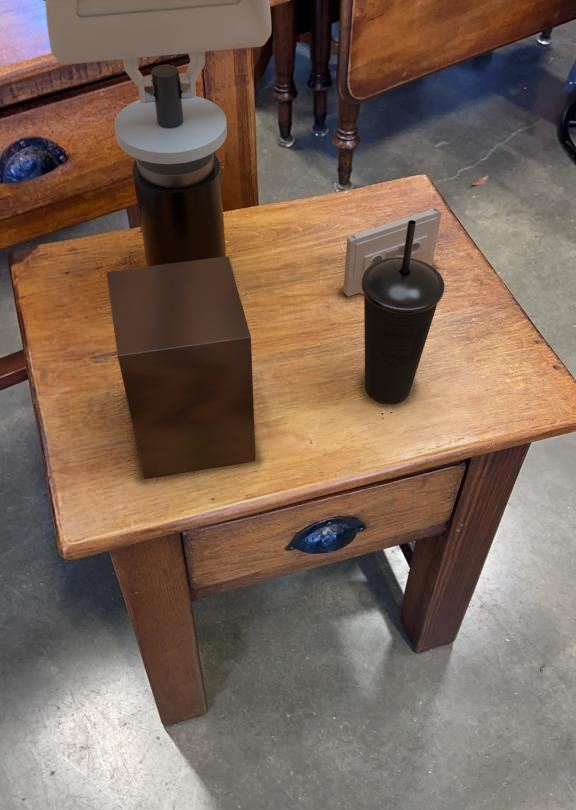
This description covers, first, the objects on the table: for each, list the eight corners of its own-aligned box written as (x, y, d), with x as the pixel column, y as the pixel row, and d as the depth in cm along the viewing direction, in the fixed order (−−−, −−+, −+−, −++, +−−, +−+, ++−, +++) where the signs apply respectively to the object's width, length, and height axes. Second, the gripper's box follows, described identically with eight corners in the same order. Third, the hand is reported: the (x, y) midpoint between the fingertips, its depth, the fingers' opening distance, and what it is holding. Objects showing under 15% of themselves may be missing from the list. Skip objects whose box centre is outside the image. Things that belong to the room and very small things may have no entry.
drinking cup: (424, 365, 89) (455, 199, 73) (423, 417, 85) (457, 252, 69) (353, 359, 90) (369, 193, 74) (349, 411, 85) (365, 246, 69)
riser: (144, 478, 80) (117, 356, 67) (132, 397, 86) (106, 271, 73) (255, 460, 81) (251, 337, 68) (236, 382, 88) (228, 255, 75)
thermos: (154, 306, 95) (134, 183, 82) (145, 257, 100) (125, 134, 88) (233, 295, 96) (226, 172, 83) (220, 247, 101) (211, 125, 89)
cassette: (348, 300, 96) (353, 243, 89) (340, 290, 97) (344, 234, 90) (434, 269, 99) (445, 213, 93) (426, 260, 100) (435, 204, 94)
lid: (121, 170, 80) (110, 106, 75) (111, 110, 86) (100, 48, 81) (236, 157, 81) (233, 94, 76) (217, 100, 88) (213, 38, 83)
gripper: (25, -41, 66) (62, 125, 78) (274, -60, 69) (275, 103, 80) (23, -71, 70) (58, 92, 81) (260, -88, 73) (263, 72, 84)
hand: (168, 97), depth 81 cm, fingers closed on lid, 2 cm apart
